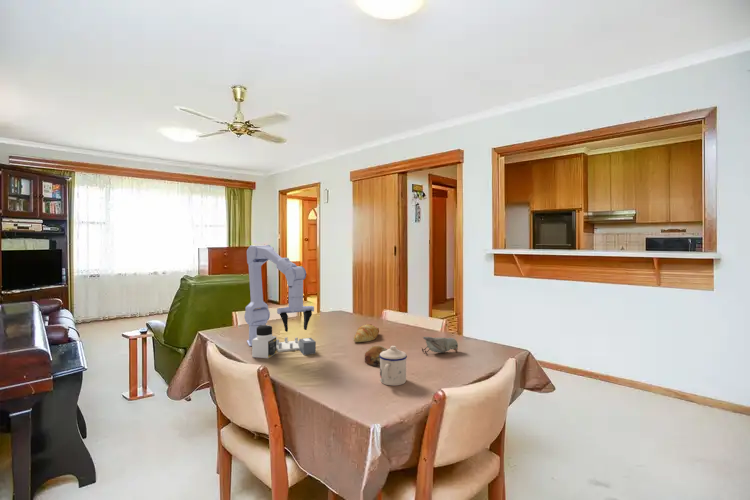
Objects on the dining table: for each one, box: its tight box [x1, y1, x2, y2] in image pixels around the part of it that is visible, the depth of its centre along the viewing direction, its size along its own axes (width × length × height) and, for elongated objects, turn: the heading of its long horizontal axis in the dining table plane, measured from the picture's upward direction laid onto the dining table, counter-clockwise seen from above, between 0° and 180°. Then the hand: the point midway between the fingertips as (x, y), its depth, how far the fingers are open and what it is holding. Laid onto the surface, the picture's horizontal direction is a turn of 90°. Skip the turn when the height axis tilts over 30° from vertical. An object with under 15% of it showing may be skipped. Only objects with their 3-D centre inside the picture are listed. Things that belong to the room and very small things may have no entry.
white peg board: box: [276, 337, 299, 353], centre depth 170 cm, size 12×11×3 cm
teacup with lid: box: [379, 345, 408, 387], centre depth 129 cm, size 12×9×12 cm
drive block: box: [298, 337, 317, 356], centre depth 163 cm, size 7×5×5 cm
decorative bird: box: [420, 336, 459, 355], centre depth 162 cm, size 5×16×8 cm, turn 108°
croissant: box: [353, 323, 380, 343], centre depth 185 cm, size 21×10×8 cm, turn 151°
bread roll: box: [364, 345, 388, 367], centre depth 150 cm, size 10×10×8 cm
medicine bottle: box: [251, 324, 277, 359], centre depth 158 cm, size 7×7×12 cm
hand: (295, 330), depth 159 cm, fingers open, 7 cm apart
